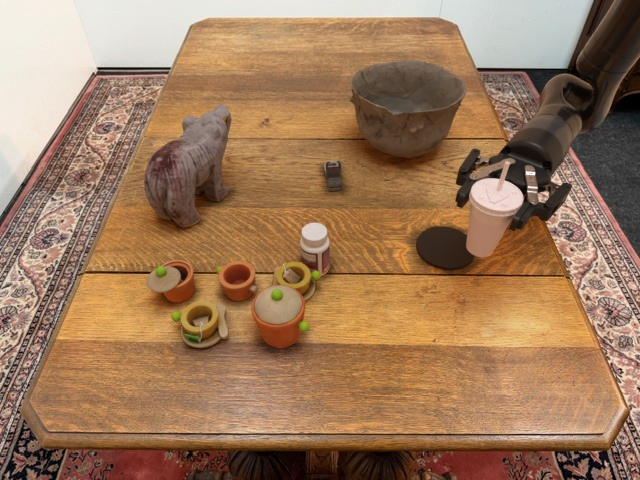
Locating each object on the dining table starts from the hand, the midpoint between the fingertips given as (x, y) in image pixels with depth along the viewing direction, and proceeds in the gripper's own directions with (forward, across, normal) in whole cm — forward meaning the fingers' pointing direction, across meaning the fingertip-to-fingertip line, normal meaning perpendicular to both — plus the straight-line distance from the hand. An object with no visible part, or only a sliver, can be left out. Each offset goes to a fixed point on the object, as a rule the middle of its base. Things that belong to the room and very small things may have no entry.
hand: (486, 213), depth 58 cm
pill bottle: (+7, -22, +20) cm, 31 cm away
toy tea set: (+21, -26, +20) cm, 39 cm away
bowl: (-32, -29, +20) cm, 48 cm away
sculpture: (+7, -51, +20) cm, 55 cm away
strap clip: (-14, -34, +20) cm, 42 cm away
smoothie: (-2, 0, +8) cm, 9 cm away
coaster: (-10, -7, +20) cm, 24 cm away
